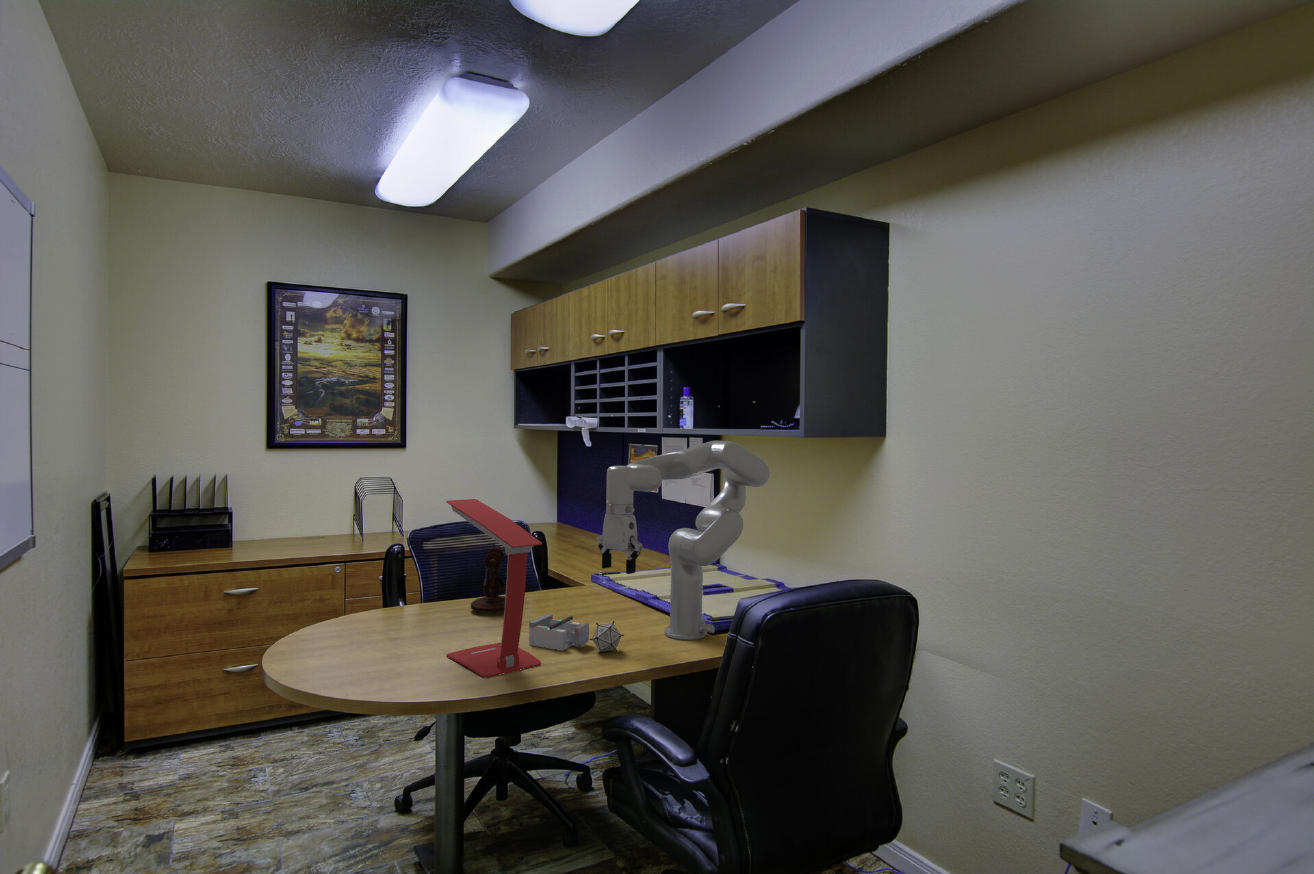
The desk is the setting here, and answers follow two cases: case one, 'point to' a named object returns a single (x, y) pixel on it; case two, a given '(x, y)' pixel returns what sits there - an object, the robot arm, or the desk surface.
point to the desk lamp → (516, 547)
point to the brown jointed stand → (491, 585)
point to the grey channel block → (574, 632)
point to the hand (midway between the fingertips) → (618, 570)
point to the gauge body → (550, 633)
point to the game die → (606, 637)
